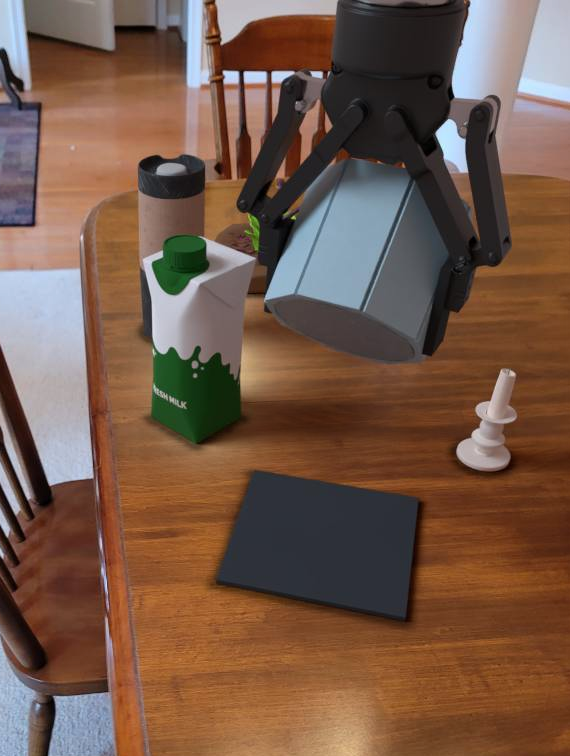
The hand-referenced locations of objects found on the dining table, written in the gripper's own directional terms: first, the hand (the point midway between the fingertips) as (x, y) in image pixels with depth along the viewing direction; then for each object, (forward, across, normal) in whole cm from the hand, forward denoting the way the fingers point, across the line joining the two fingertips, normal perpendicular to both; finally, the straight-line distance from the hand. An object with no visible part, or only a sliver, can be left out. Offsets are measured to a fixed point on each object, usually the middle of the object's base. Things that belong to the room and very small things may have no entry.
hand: (350, 326), depth 64 cm
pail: (-4, 0, +2) cm, 4 cm away
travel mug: (+20, -31, +25) cm, 45 cm away
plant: (+20, -28, +48) cm, 60 cm away
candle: (+21, +10, +18) cm, 29 cm away
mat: (+20, +1, -2) cm, 20 cm away
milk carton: (+20, -19, +10) cm, 29 cm away
